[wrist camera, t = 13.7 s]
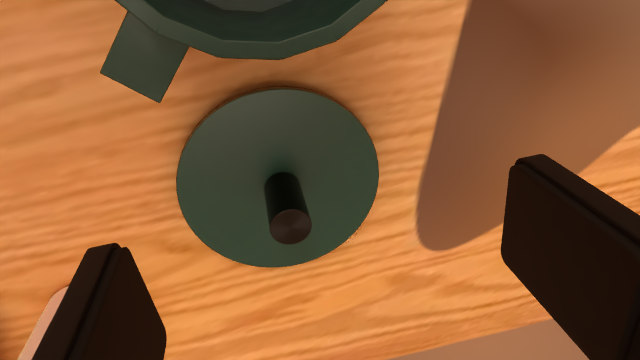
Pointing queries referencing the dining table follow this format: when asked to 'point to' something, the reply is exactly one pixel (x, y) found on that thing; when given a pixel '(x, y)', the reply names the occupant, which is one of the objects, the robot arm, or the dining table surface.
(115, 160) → the dining table surface
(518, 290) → the dining table surface
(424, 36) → the dining table surface
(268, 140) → the lid
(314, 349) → the dining table surface
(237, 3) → the pot
